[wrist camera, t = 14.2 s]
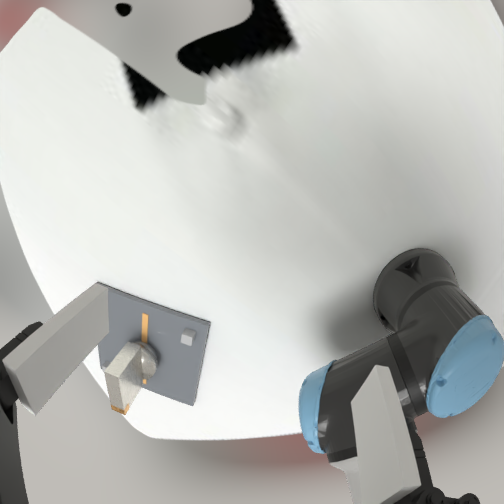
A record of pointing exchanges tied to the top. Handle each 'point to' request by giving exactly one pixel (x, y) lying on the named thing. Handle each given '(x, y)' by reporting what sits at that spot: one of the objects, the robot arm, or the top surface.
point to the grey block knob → (129, 374)
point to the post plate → (157, 343)
